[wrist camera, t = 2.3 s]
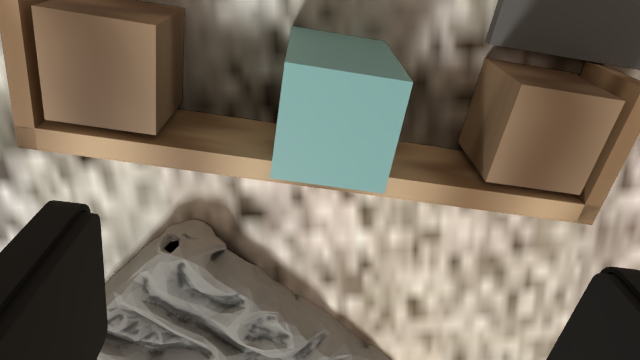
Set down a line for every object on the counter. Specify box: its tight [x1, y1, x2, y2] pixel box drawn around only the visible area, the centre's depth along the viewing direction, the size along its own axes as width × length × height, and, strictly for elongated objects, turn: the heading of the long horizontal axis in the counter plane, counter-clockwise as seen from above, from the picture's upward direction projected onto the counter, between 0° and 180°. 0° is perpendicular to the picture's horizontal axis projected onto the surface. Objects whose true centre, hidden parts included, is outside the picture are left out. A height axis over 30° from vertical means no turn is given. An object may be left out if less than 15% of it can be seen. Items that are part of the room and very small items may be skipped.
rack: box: [0, 0, 640, 225], centre depth 21 cm, size 26×7×4 cm, turn 81°
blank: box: [270, 26, 413, 194], centre depth 20 cm, size 4×4×7 cm
